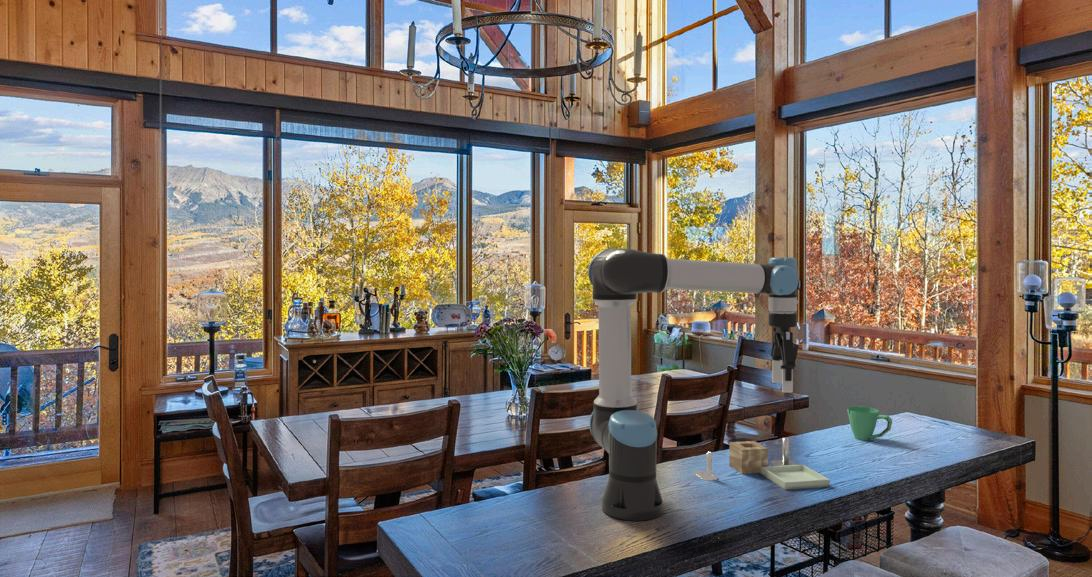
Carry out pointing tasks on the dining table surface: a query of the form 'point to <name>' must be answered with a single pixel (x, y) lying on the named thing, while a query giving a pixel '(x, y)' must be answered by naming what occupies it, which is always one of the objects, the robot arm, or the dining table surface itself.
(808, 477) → the tray
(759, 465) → the bored block
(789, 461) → the gauge post
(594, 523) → the dining table surface
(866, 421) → the mug
